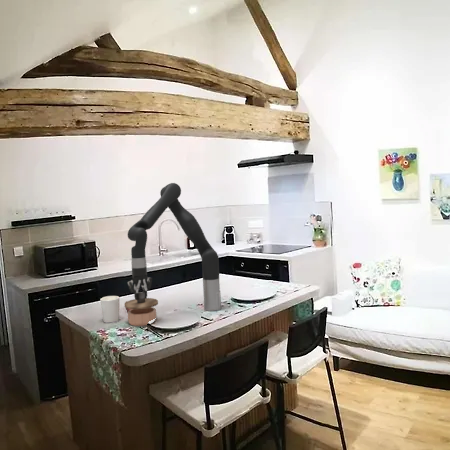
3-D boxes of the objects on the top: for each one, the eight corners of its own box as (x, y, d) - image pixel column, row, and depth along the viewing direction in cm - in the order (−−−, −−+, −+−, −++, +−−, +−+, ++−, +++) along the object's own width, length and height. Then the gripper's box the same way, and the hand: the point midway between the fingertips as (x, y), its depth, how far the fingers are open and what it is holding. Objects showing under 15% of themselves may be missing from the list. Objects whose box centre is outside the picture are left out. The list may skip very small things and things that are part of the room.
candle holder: (122, 317, 241) (121, 295, 240) (118, 322, 231) (117, 300, 230) (104, 318, 241) (102, 296, 240) (99, 323, 231) (98, 301, 230)
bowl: (159, 317, 237) (158, 306, 236) (152, 325, 223) (151, 314, 222) (133, 318, 238) (132, 307, 237) (125, 326, 224) (124, 314, 224)
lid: (161, 300, 238) (160, 288, 237) (153, 308, 221) (152, 296, 220) (130, 300, 239) (129, 289, 239) (120, 309, 222) (119, 297, 222)
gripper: (147, 263, 235) (149, 295, 237) (123, 267, 226) (125, 300, 228) (154, 265, 230) (156, 297, 231) (130, 269, 221) (132, 303, 222)
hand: (141, 298), depth 230 cm, fingers closed on lid, 4 cm apart
